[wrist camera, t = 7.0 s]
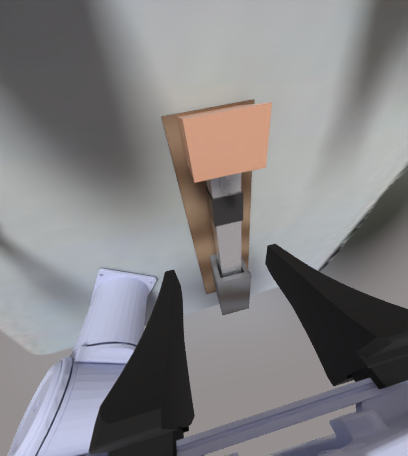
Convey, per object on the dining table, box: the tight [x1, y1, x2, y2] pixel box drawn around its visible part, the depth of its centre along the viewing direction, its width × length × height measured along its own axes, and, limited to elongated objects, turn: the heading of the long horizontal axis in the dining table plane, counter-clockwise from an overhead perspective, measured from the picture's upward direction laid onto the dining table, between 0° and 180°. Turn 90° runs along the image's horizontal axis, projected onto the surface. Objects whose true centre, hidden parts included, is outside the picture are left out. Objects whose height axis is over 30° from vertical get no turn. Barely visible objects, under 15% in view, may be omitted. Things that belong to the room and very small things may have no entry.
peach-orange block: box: [178, 103, 272, 183], centre depth 12 cm, size 4×5×5 cm
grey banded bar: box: [205, 173, 244, 278], centre depth 18 cm, size 19×3×3 cm, turn 9°
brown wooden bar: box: [162, 100, 254, 315], centre depth 20 cm, size 28×8×5 cm, turn 9°
